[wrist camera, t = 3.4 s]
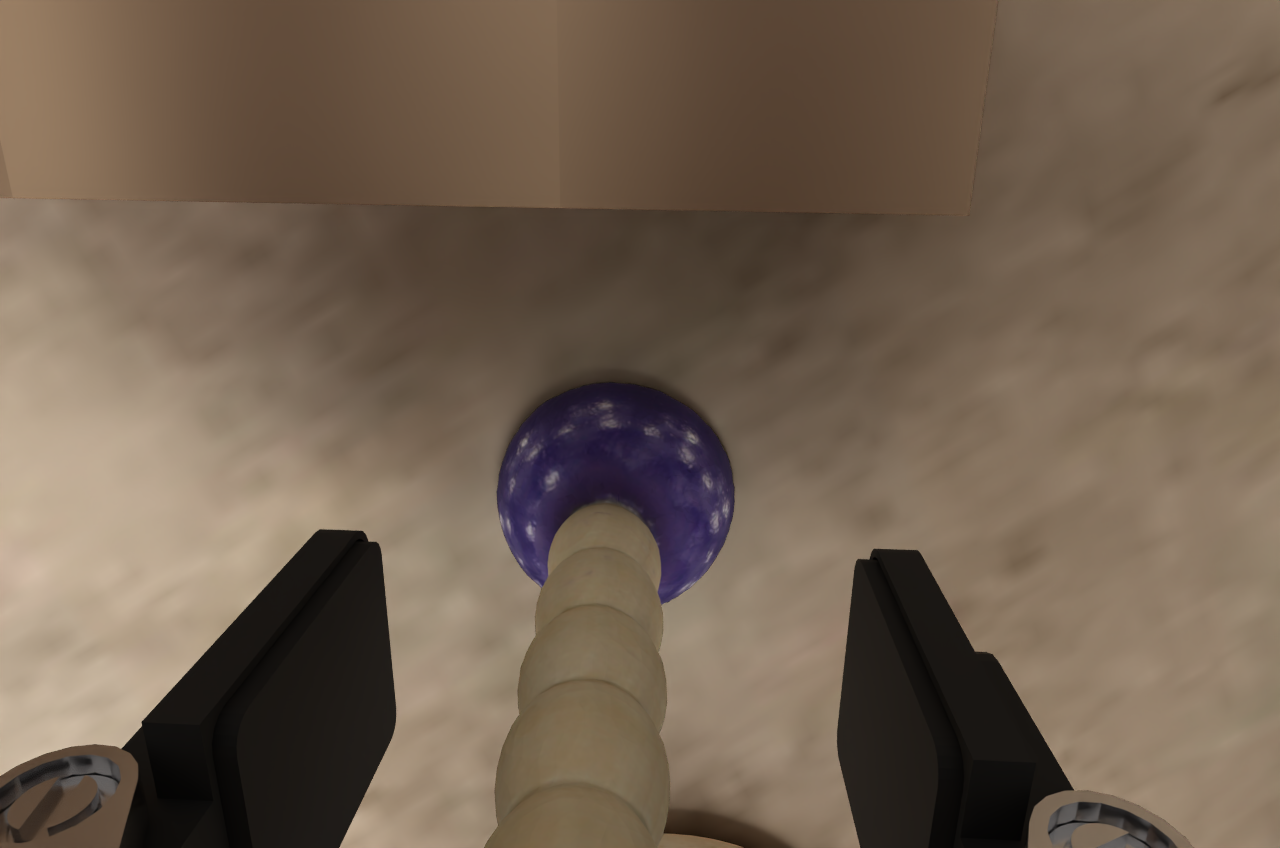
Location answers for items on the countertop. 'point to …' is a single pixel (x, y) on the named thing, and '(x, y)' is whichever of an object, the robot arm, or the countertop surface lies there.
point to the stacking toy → (692, 842)
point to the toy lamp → (602, 607)
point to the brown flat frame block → (499, 102)
